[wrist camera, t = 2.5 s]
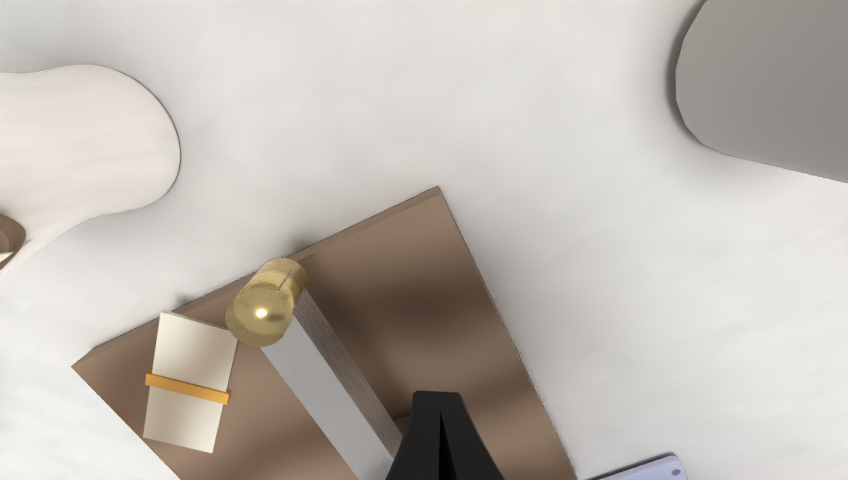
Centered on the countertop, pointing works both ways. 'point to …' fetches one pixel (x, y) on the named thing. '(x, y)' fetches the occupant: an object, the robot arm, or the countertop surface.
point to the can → (769, 82)
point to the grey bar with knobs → (316, 366)
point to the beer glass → (77, 153)
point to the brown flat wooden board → (364, 341)
